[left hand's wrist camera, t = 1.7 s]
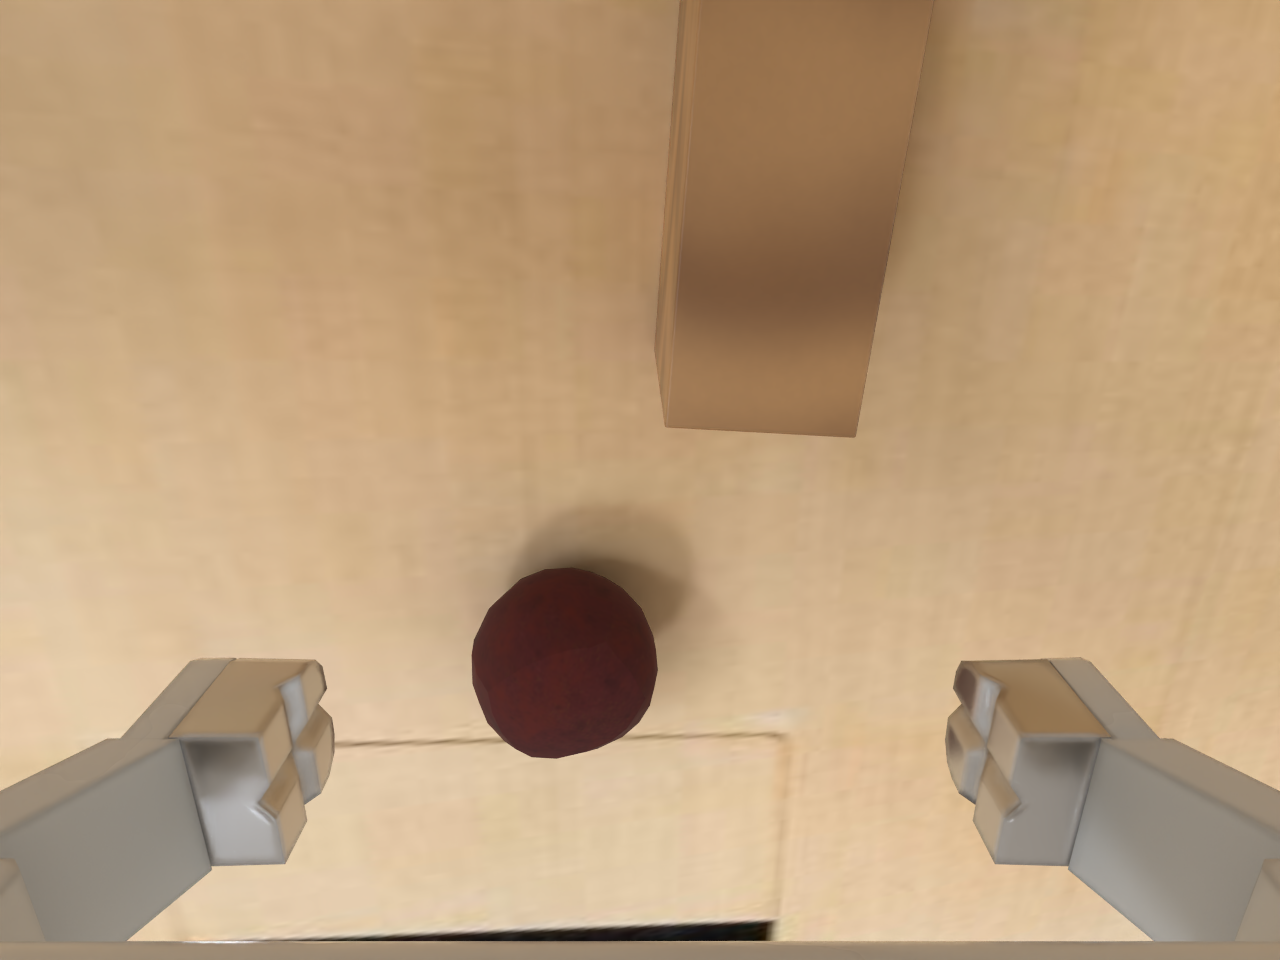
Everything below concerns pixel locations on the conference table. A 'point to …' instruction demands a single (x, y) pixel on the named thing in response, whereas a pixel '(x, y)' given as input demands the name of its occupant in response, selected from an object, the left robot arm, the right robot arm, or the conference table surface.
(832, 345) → the bar
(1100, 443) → the conference table surface
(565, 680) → the dark maroon ball
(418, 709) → the conference table surface
